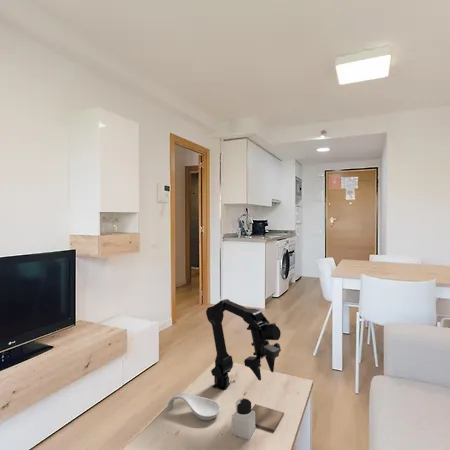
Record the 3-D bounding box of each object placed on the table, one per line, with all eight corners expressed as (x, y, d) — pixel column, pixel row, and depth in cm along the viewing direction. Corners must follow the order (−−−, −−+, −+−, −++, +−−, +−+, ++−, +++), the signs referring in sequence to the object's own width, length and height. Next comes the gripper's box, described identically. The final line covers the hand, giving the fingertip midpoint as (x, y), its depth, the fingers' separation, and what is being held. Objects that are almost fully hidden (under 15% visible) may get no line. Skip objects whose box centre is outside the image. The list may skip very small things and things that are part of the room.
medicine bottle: (255, 428, 125) (255, 398, 125) (249, 440, 119) (248, 408, 118) (238, 423, 128) (238, 394, 128) (231, 435, 122) (231, 404, 121)
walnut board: (243, 422, 129) (243, 419, 129) (255, 406, 140) (255, 404, 140) (274, 432, 123) (274, 429, 123) (283, 414, 133) (283, 412, 133)
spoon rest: (224, 410, 138) (223, 393, 138) (215, 427, 127) (214, 409, 126) (174, 401, 145) (174, 385, 145) (162, 417, 134) (161, 400, 134)
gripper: (260, 346, 128) (268, 387, 126) (285, 333, 141) (293, 369, 139) (240, 346, 135) (247, 384, 133) (265, 333, 149) (272, 367, 147)
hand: (266, 376), depth 138 cm, fingers open, 9 cm apart
